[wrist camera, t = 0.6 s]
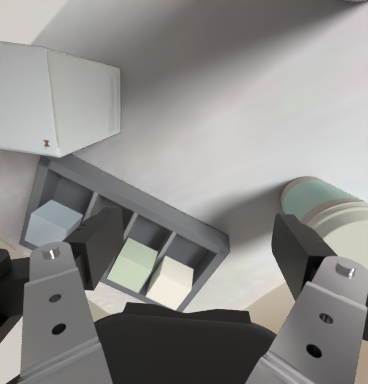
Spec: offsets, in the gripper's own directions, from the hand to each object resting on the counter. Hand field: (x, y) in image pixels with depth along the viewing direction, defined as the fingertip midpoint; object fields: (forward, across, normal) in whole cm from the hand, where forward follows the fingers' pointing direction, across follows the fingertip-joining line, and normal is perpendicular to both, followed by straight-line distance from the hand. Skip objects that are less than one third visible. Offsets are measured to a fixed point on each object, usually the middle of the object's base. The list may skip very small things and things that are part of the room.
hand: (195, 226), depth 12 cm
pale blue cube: (+15, +18, +8) cm, 25 cm away
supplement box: (+18, +13, -7) cm, 23 cm away
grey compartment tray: (+19, +11, +12) cm, 25 cm away
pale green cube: (+15, +8, +13) cm, 22 cm away
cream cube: (+15, +4, +16) cm, 22 cm away
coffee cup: (+18, -13, +5) cm, 23 cm away
